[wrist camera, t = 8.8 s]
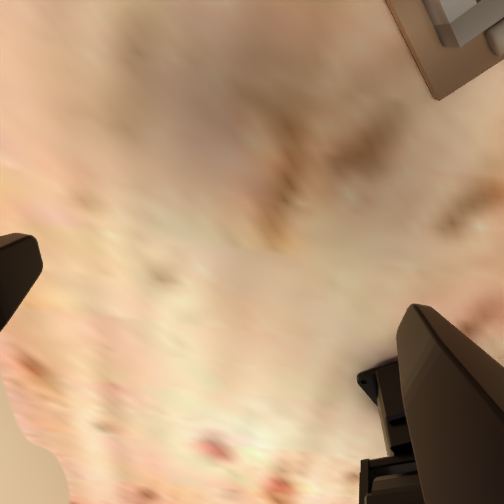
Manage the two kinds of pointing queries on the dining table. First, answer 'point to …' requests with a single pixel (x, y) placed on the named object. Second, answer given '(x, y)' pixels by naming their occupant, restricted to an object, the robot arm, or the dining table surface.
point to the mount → (451, 39)
